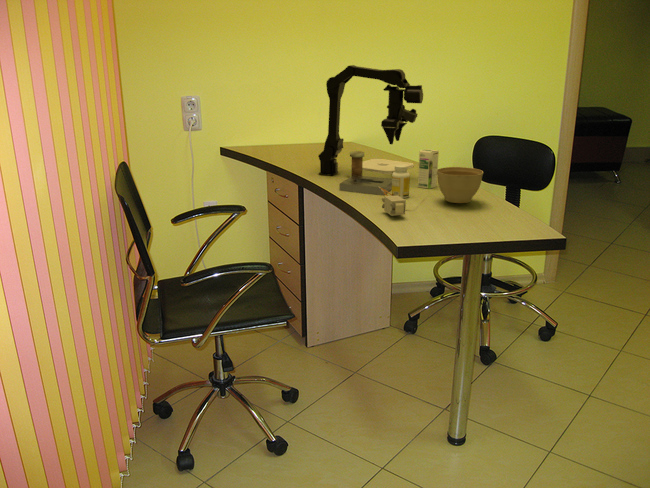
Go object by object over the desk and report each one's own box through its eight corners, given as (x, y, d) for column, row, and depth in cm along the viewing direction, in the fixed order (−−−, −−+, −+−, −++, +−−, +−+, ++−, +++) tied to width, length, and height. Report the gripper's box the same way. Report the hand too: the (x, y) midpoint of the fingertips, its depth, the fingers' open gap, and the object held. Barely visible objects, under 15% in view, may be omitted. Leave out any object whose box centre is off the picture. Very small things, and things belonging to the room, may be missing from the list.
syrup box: (417, 187, 241) (418, 150, 237) (424, 184, 246) (426, 148, 241) (430, 189, 238) (432, 152, 233) (437, 186, 243) (439, 150, 238)
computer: (390, 177, 259) (390, 171, 259) (348, 171, 272) (348, 165, 271) (416, 169, 276) (416, 163, 275) (374, 163, 289) (375, 158, 288)
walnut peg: (347, 181, 252) (347, 153, 249) (352, 178, 258) (352, 150, 254) (361, 182, 250) (361, 154, 247) (365, 179, 256) (366, 151, 252)
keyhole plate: (339, 191, 236) (339, 183, 235) (352, 182, 250) (353, 175, 249) (384, 195, 229) (384, 187, 228) (395, 186, 243) (396, 178, 242)
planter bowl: (490, 202, 219) (492, 172, 216) (457, 208, 211) (459, 177, 208) (458, 192, 232) (460, 164, 229) (426, 198, 224) (427, 169, 221)
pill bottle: (410, 195, 229) (411, 164, 225) (407, 199, 223) (408, 168, 220) (393, 194, 231) (394, 163, 227) (389, 198, 225) (390, 166, 222)
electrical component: (366, 199, 224) (367, 185, 222) (382, 198, 225) (382, 184, 224) (391, 216, 202) (391, 202, 200) (408, 215, 204) (408, 200, 202)
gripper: (410, 105, 228) (408, 147, 233) (421, 101, 245) (419, 140, 250) (381, 104, 232) (380, 145, 237) (394, 100, 249) (393, 138, 254)
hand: (394, 142), depth 244 cm, fingers open, 9 cm apart
